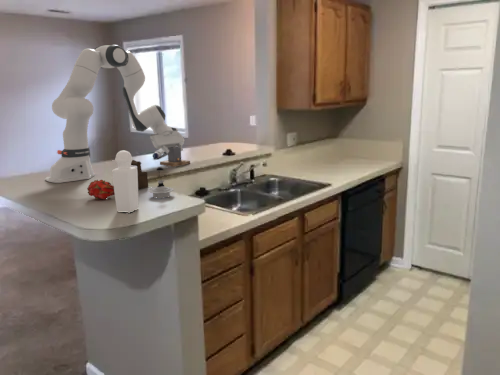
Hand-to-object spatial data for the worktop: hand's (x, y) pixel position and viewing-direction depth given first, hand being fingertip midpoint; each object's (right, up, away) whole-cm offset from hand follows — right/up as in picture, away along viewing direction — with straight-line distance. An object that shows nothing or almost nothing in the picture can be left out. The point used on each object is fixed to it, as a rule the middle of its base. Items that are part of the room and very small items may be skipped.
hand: (175, 151), depth 245 cm
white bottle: (-2, -29, -89) cm, 94 cm away
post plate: (0, -7, +2) cm, 7 cm away
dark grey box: (0, -5, +2) cm, 6 cm away
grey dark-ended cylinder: (-14, 0, +32) cm, 35 cm away
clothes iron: (-10, -20, -52) cm, 56 cm away
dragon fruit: (-16, -25, -71) cm, 77 cm away
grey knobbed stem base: (+6, -24, -69) cm, 73 cm away
